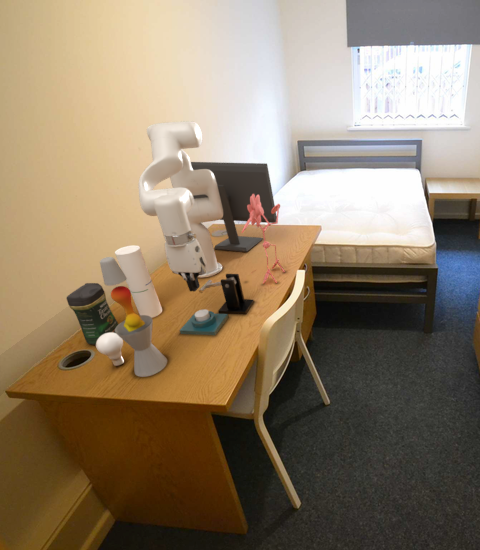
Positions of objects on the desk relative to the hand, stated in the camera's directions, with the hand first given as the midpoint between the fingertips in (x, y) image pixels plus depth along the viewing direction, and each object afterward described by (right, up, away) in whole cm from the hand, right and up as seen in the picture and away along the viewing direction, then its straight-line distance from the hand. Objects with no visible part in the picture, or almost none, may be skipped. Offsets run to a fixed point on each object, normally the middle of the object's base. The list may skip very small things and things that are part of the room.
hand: (194, 289), depth 117 cm
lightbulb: (-18, -22, -10) cm, 30 cm away
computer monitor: (-8, +20, +64) cm, 68 cm away
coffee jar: (-30, -16, +2) cm, 34 cm away
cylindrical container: (-22, -9, +13) cm, 27 cm away
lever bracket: (+8, -7, +15) cm, 18 cm away
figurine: (+13, +4, +35) cm, 37 cm away
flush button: (+1, -10, +4) cm, 11 cm away
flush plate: (+1, -13, +6) cm, 14 cm away
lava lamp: (-8, -22, -11) cm, 26 cm away
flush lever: (+4, 0, +11) cm, 11 cm away
